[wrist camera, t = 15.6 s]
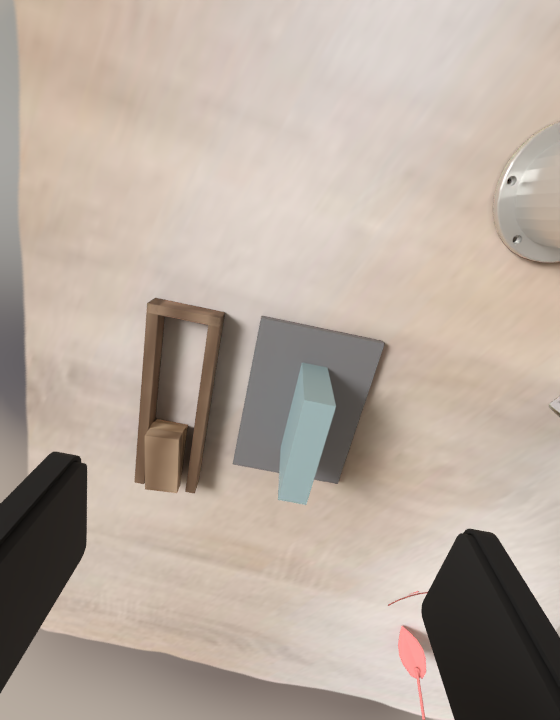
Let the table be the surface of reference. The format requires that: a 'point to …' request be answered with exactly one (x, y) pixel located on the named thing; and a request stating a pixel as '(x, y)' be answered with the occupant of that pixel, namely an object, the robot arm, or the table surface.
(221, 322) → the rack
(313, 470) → the teal rectangular block
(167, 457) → the offcut top
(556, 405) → the coffee box
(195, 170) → the table surface
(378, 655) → the table surface
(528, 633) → the robot arm
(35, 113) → the table surface
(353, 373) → the mat
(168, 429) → the block
